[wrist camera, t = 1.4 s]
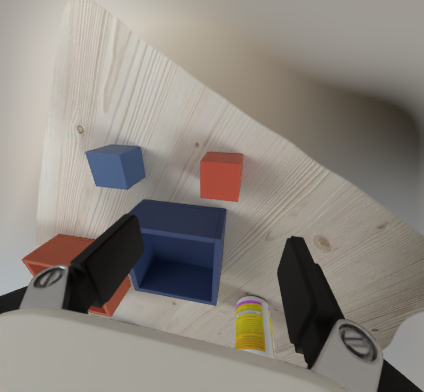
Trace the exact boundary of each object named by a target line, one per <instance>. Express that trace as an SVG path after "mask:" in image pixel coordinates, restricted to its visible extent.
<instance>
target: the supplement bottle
mask: <svg viewBox="0 0 424 392" xmlns="http://www.w3.org/2000/svg"><path fill="white" fill-rule="evenodd" d="M235 349H238V350H242V351H246V352H250V353H254V354H258V355H262V356H265V357H269V358H273V359H276V354H275V346H274V339H273V331H272V323H271V315H270V309H269V305H268V304H267V302H266V301H264V300H263V299H261V298H259V297H255V296H246V297H243V298H241V299H240V300H239V301H238V302H237V313H236V346H235Z"/></svg>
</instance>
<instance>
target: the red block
mask: <svg viewBox="0 0 424 392" xmlns="http://www.w3.org/2000/svg"><path fill="white" fill-rule="evenodd" d="M242 166H243V154H234V153H220V152H208V153H207V154H206V155H205V156H204V158H203V159H202V160H201V161H200V197H201V198H207V199H217V200H226V201H235V202H238V198H239V190H240V182H241V174H242Z"/></svg>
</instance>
